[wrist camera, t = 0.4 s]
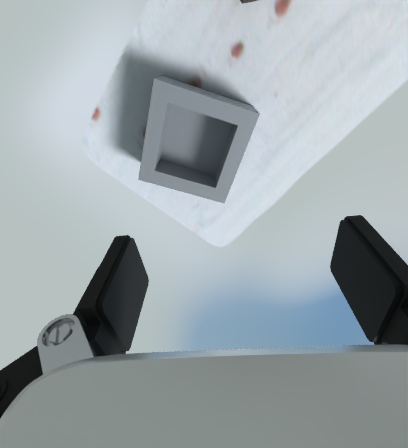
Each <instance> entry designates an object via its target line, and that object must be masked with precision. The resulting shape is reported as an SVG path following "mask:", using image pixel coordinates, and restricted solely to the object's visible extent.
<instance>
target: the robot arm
mask: <svg viewBox="0 0 408 448" xmlns="http://www.w3.org/2000/svg"><path fill="white" fill-rule="evenodd" d="M330 268H331V272H332V274H333V276H334V278H335V280H336V281H337V283H338V285H339V287H340V289H341V291H342V293H343V294H344V296H345V298H346V300H347V301H348V304H349V305H350V307H351V309H352V311H353V313H354V315H355V316H356V318H357V320H358V322H359V324H360V326H361V327H362V329H363V331H364V333H365V335H366V337H367V339H368V340H369V341H370V342H374V344H375V345H346V346H345V345H343V346H313V347H312V346H311V347H281V348H254V349H253V348H252V349H225V350H202V351H201V350H200V351H177V352H152V353H135V354H125V353H126V351H129V349H130V347H131V343H132V340H133V337H134V333H135V329H136V326H137V323H138V319H139V315H140V312H141V308H142V305H143V301H144V298H145V294H146V291H147V287H148V282H149V280H148V276H147V273H146V270H145V268H144V265H143V262H142V259H141V257H140V254H139V251H138V249H137V246H136V243H135V241H134V239H133V238H130V236H128V235H126V236H116V237H115V238H114V240H113V242H112V244H111V246H110V248H109V249H108V251H107V253H106V255H105V257H104V259H103V261H102V263H101V264H100V266H99V267H98V269H97V270H96V272H95V274H94V276H93V278H92V280H91V281H90V283H89V285H88V287H87V289H86V291H85V293H84V294H83V296H82V298H81V300H80V302H79V304H78V306H77V308H76V310H75V312H74V313H73V315H72V314H66V315H62V316H60V317H57V318H55V319H54V320H52V321H51V322H49V323H48V324H47V325H46V326H45V327H44V328H43V330H42V331H41V333H40V334H39V337H38V339H37V340H38V341H37V346H36V347H34V348H33V349H32V350H30V351H29V352H27V353H26V354H24V355H23V356H21V357H20V358H19V359H17V360H15V361H14V362H12V363H11V364H9V365H8V366H6V367H5V368H3V369H2V370H0V448H408V265H407V264H406V263H405V262H404V261H403V260H402V258H401V257H400V256H399V255H398V254H397V253H396V252H395V251H394V250H393V249H392V248H391V246H390V245H388V243H387V242H386V241H385V240H384V239H383V238H382V237H381V236H380V235H379V233H378V232H377V231H376V230H375V229H374V228H373V227H372V226H371V225H370V224H369V223H368V221H367V220H366V219H365V218H364V217H363V216H361V215H358V216H347V217H345V219H344V220H341V222H340V225H339V229H338V234H337V238H336V243H335V247H334V251H333V256H332V260H331V265H330Z"/></svg>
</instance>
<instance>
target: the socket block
mask: <svg viewBox="0 0 408 448" xmlns="http://www.w3.org/2000/svg"><path fill="white" fill-rule="evenodd" d="M258 117H259V113H258V111H257V110H256V109H255V108H254V107H253V106H251V105H248V104H245V103H242V102H239V101H236V100H233V99H230V98H227V97H224V96H221V95H219V94H216V93H213V92H210V91H207V90H204V89H201V88H198V87H195V86H192V85H189V84H186V83H183V82H180V81H177V80H174V79H171V78H168V77H165V76H163V75H162V76H159V77H156V78H154V81H153V87H152V94H151V100H150V107H149V113H148V120H147V126H146V133H145V139H144V146H143V152H142V159H141V165H140V172H139V178H138V180H142V181H146V182H149V183H153V184H156V185H160V186H164V187H167V188H171V189H175V190H178V191H182V192H185V193H189V194H193V195H196V196H200V197H204V198H207V199H211V200H214V201H218V202H222V203H225V200H226V198H227V195H228V193H229V190H230V188H231V185H232V183H233V180H234V177H235V175H236V172H237V170H238V167H239V165H240V162H241V160H242V157H243V155H244V152H245V150H246V147H247V145H248V142H249V140H250V137H251V134H252V132H253V129H254V127H255V124H256V122H257V119H258Z"/></svg>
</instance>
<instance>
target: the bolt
mask: <svg viewBox="0 0 408 448" xmlns="http://www.w3.org/2000/svg"><path fill="white" fill-rule="evenodd" d="M240 1H241V2H242V3H248V2H253V1H257V0H240Z"/></svg>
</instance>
